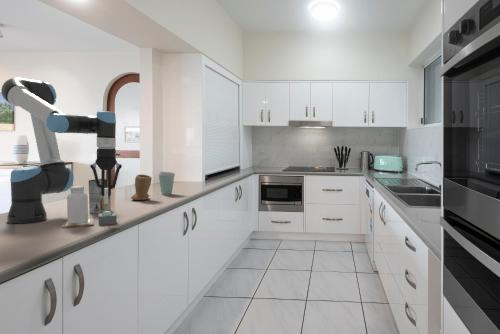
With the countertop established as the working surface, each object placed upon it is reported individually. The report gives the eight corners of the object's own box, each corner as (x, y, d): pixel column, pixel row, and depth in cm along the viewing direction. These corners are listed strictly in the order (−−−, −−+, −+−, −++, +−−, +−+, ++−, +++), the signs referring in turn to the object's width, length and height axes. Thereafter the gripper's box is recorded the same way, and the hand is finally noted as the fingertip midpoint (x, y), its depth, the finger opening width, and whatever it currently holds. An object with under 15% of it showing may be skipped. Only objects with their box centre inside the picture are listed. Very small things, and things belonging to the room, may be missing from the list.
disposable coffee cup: (170, 192, 272) (169, 170, 272) (178, 194, 264) (177, 171, 263) (155, 194, 266) (155, 171, 265) (163, 195, 257) (163, 172, 256)
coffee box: (99, 209, 204) (99, 178, 203) (111, 210, 202) (110, 178, 201) (88, 213, 195) (88, 180, 194) (100, 213, 193) (100, 180, 192)
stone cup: (150, 201, 234) (149, 175, 233) (129, 201, 233) (128, 175, 232) (154, 197, 249) (153, 173, 248) (134, 197, 248) (134, 173, 247)
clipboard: (61, 228, 161) (61, 225, 161) (63, 221, 174) (63, 218, 174) (93, 225, 165) (93, 223, 165) (93, 219, 178) (93, 217, 178)
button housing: (98, 224, 167) (98, 216, 167) (98, 221, 174) (98, 213, 173) (116, 223, 170) (116, 215, 169) (115, 220, 176) (115, 212, 176)
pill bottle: (66, 224, 164) (65, 187, 163) (69, 220, 172) (68, 185, 171) (87, 223, 166) (86, 187, 166) (89, 219, 174) (88, 185, 173)
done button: (103, 220, 169) (103, 212, 169) (103, 219, 172) (103, 211, 172) (111, 220, 171) (111, 212, 170) (111, 218, 174) (111, 210, 173)
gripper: (89, 148, 164) (89, 205, 166) (123, 148, 169) (122, 204, 170) (89, 147, 171) (89, 202, 173) (121, 148, 175) (121, 201, 177)
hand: (106, 203), depth 171 cm, fingers closed
